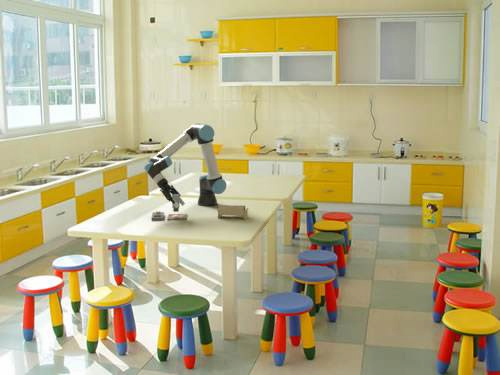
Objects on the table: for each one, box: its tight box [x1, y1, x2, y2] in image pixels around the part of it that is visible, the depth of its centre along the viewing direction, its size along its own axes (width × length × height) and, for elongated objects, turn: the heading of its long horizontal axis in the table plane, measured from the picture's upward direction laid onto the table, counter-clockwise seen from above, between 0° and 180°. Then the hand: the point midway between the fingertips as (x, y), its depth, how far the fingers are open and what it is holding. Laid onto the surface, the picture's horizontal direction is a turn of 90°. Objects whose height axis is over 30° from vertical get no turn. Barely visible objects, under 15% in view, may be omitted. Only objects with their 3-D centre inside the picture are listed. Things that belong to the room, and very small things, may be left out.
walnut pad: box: [166, 213, 188, 221], centre depth 456 cm, size 13×16×1 cm
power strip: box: [151, 211, 165, 222], centre depth 456 cm, size 18×8×4 cm, turn 6°
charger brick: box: [171, 193, 181, 213], centre depth 455 cm, size 5×5×12 cm
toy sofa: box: [216, 204, 249, 220], centre depth 456 cm, size 21×9×10 cm, turn 79°
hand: (180, 205), depth 453 cm, fingers closed on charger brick, 7 cm apart
